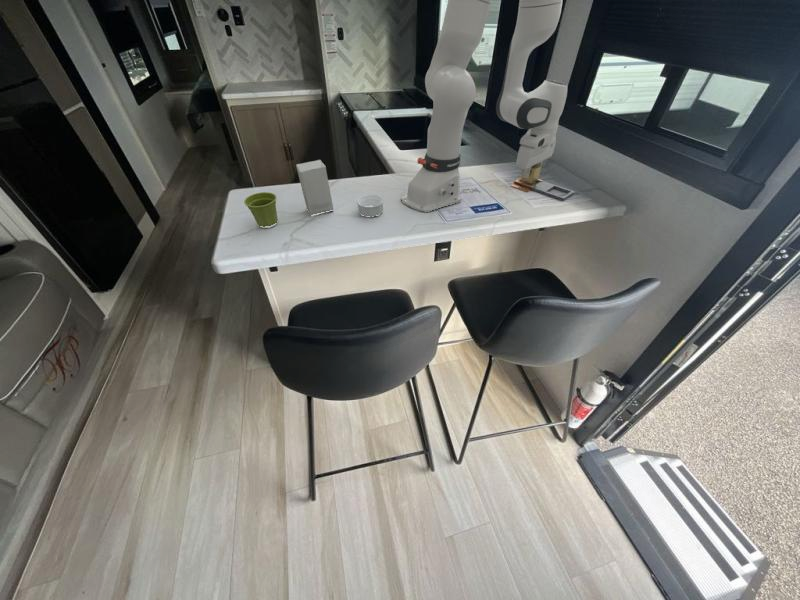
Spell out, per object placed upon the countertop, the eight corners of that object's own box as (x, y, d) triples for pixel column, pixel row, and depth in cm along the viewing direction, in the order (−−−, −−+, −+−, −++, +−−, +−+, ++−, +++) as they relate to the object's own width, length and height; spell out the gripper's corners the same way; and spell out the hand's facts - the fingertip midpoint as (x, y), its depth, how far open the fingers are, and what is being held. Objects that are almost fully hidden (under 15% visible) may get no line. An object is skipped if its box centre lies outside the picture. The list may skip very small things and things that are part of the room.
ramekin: (355, 209, 111) (353, 197, 108) (379, 204, 114) (378, 192, 111) (362, 221, 105) (361, 209, 102) (387, 216, 108) (387, 204, 105)
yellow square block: (531, 183, 121) (535, 168, 117) (520, 180, 123) (524, 164, 119) (537, 180, 123) (542, 164, 119) (527, 176, 126) (531, 161, 122)
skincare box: (329, 204, 114) (321, 158, 103) (334, 212, 110) (327, 166, 99) (305, 209, 111) (295, 163, 101) (310, 217, 107) (299, 170, 96)
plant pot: (288, 224, 104) (281, 199, 98) (261, 235, 99) (252, 209, 93) (274, 214, 109) (267, 189, 103) (248, 224, 104) (238, 198, 98)
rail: (559, 203, 112) (560, 200, 112) (509, 185, 123) (510, 182, 122) (573, 194, 118) (574, 190, 117) (524, 177, 129) (525, 174, 128)
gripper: (548, 127, 119) (537, 165, 129) (517, 139, 109) (508, 179, 119) (564, 130, 116) (552, 169, 125) (534, 144, 106) (523, 185, 115)
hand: (530, 174), depth 122 cm, fingers closed on yellow square block, 4 cm apart
